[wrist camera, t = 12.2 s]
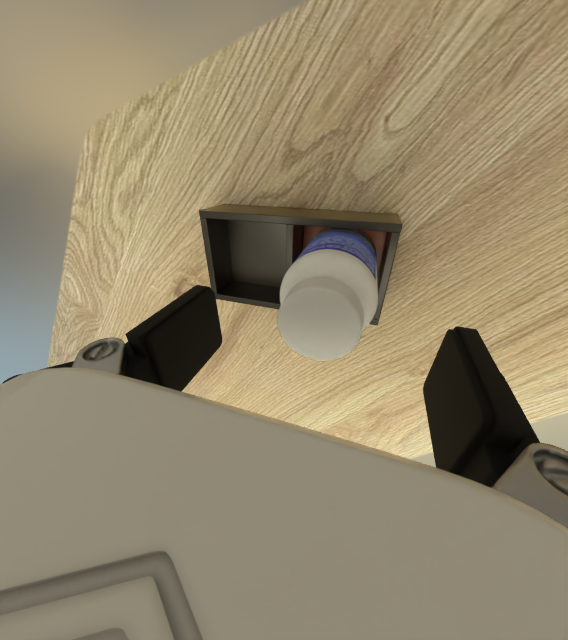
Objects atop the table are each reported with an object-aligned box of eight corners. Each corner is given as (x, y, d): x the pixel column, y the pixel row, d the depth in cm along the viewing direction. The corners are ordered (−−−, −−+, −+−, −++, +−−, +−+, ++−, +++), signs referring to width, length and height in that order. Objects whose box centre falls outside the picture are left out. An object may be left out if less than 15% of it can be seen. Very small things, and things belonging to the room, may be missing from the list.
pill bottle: (298, 234, 19) (244, 282, 12) (372, 214, 17) (367, 258, 9) (315, 297, 22) (279, 374, 14) (382, 287, 20) (385, 371, 12)
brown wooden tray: (223, 203, 21) (198, 210, 18) (398, 213, 17) (402, 223, 15) (232, 282, 25) (212, 298, 22) (377, 303, 21) (377, 325, 18)
